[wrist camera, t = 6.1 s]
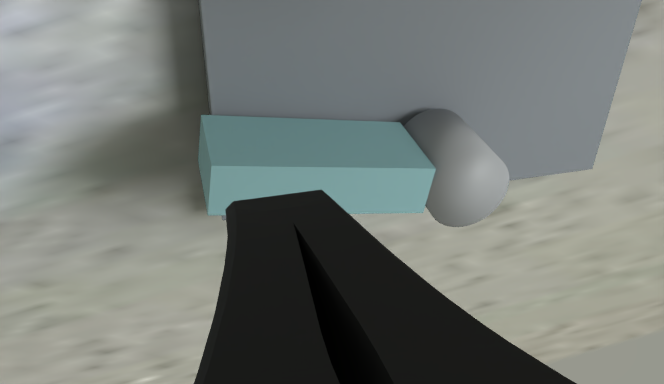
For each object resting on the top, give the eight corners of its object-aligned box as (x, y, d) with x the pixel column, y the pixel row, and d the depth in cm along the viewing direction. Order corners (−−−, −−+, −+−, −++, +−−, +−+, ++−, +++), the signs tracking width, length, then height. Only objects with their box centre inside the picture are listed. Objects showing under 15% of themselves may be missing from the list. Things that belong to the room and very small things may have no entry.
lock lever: (476, 110, 19) (520, 153, 17) (454, 177, 20) (494, 226, 18) (202, 97, 16) (212, 146, 14) (197, 175, 18) (206, 231, 15)
